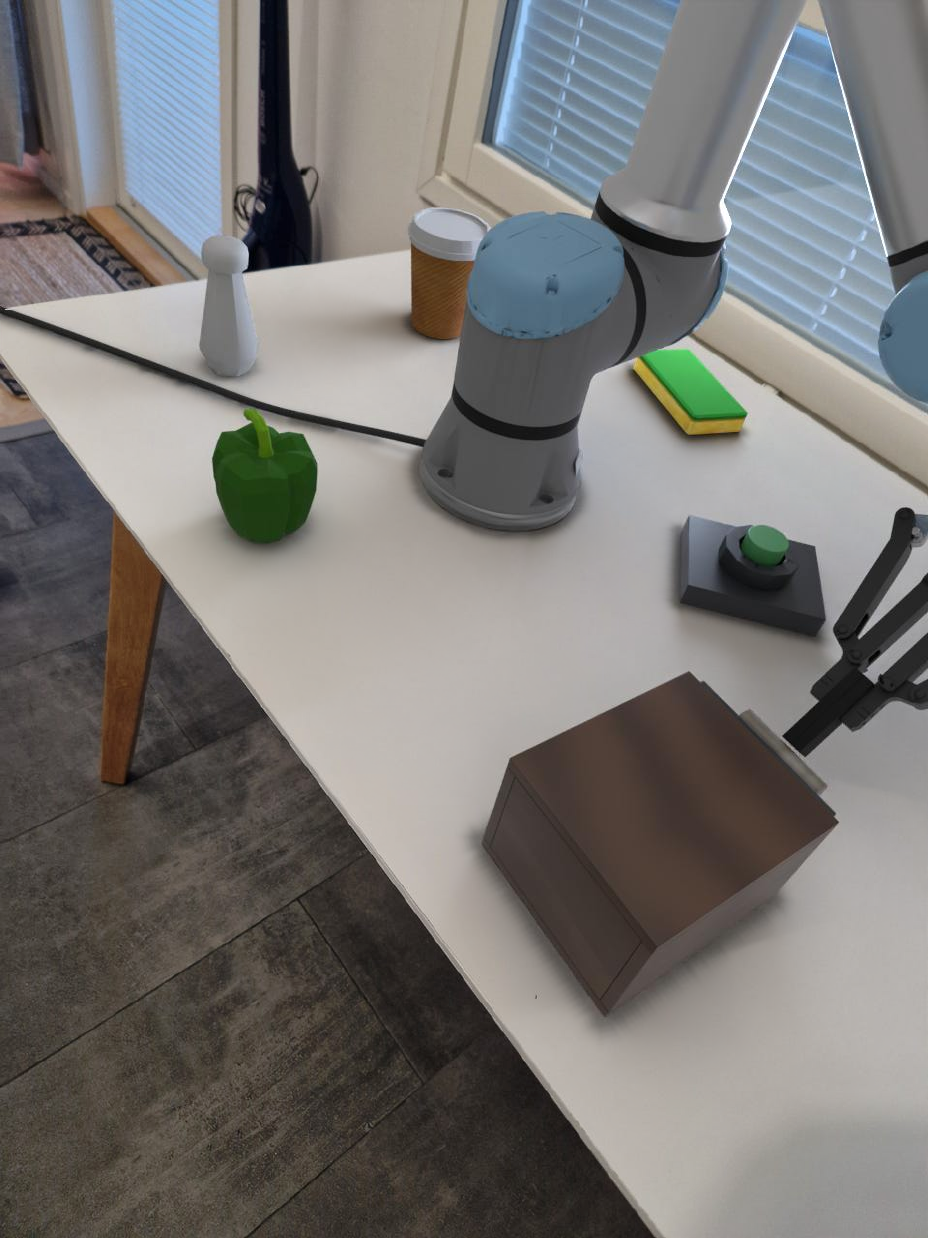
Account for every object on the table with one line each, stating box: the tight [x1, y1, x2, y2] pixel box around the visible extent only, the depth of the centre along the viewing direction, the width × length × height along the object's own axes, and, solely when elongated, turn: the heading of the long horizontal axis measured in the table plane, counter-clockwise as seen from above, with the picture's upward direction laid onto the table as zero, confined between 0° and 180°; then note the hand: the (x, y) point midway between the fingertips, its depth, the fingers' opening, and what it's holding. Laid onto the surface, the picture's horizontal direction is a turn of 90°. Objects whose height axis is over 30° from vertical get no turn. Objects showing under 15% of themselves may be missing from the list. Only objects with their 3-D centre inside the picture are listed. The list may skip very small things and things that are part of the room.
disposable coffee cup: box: [407, 206, 492, 340], centre depth 98 cm, size 10×10×12 cm
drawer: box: [700, 680, 837, 818], centre depth 54 cm, size 18×11×8 cm, turn 124°
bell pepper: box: [211, 407, 319, 544], centre depth 70 cm, size 8×8×10 cm
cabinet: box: [481, 670, 840, 1018], centre depth 53 cm, size 15×13×10 cm
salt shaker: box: [198, 234, 259, 378], centre depth 85 cm, size 6×6×13 cm
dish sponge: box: [633, 348, 749, 436], centre depth 99 cm, size 7×14×2 cm, turn 19°
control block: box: [679, 514, 827, 638], centre depth 77 cm, size 12×10×4 cm
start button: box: [741, 524, 789, 566], centre depth 75 cm, size 4×4×2 cm
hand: (793, 746), depth 59 cm, fingers closed
